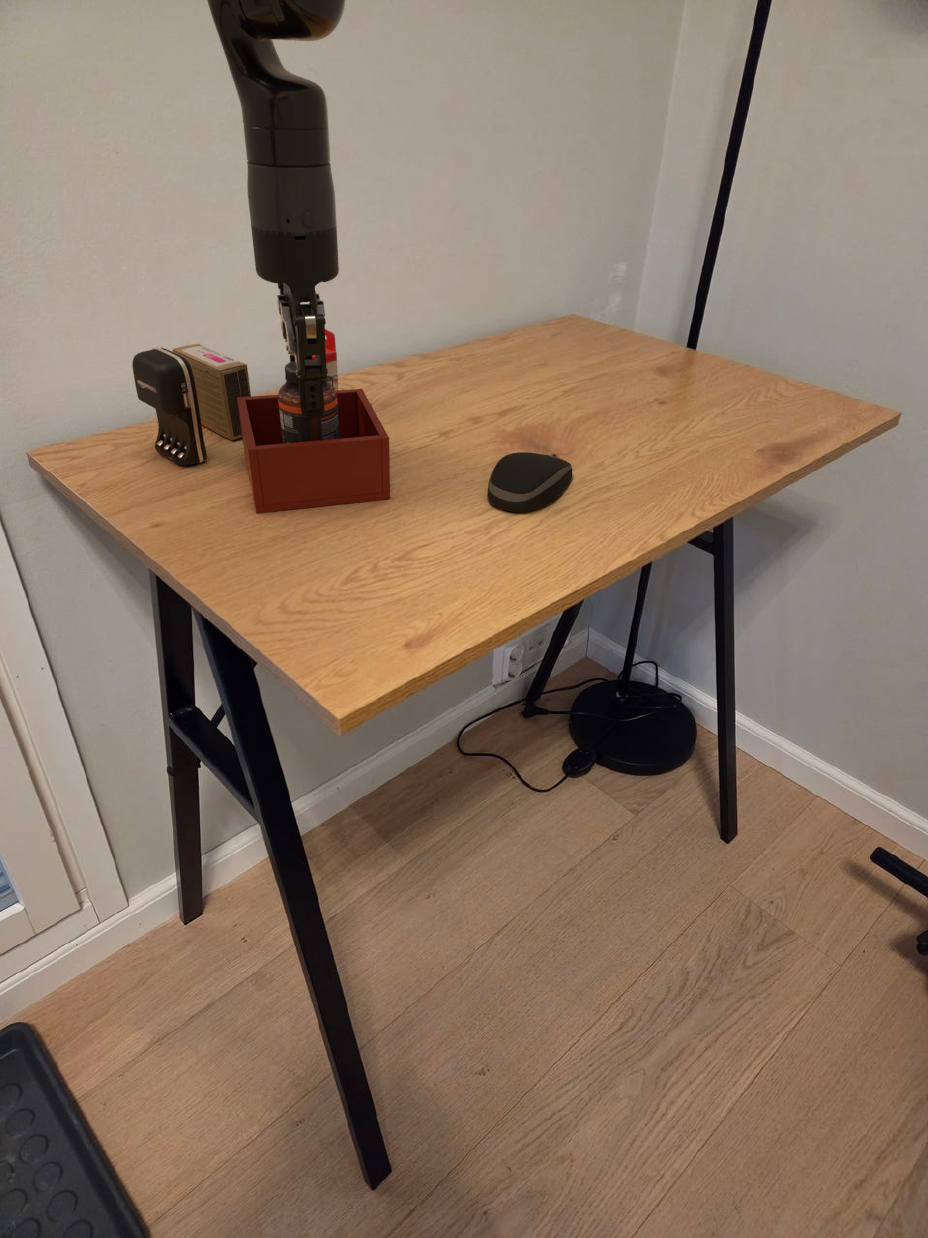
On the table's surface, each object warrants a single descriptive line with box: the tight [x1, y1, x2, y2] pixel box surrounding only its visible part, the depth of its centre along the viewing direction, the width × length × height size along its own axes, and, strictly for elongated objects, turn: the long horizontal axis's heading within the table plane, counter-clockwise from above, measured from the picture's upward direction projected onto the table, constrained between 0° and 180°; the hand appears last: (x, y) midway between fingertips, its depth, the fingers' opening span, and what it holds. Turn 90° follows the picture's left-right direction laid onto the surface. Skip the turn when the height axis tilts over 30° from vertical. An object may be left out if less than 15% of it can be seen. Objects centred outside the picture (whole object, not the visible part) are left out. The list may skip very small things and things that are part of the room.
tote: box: [237, 388, 391, 514], centre depth 83 cm, size 14×14×7 cm
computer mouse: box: [486, 451, 573, 513], centre depth 84 cm, size 7×12×4 cm, turn 146°
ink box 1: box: [172, 343, 252, 441], centre depth 92 cm, size 10×4×8 cm, turn 46°
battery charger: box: [131, 347, 208, 467], centre depth 84 cm, size 7×4×11 cm, turn 47°
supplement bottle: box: [277, 360, 340, 444], centre depth 81 cm, size 6×6×11 cm
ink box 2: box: [289, 328, 339, 391], centre depth 97 cm, size 6×3×10 cm, turn 40°
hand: (308, 401), depth 80 cm, fingers closed on supplement bottle, 6 cm apart
